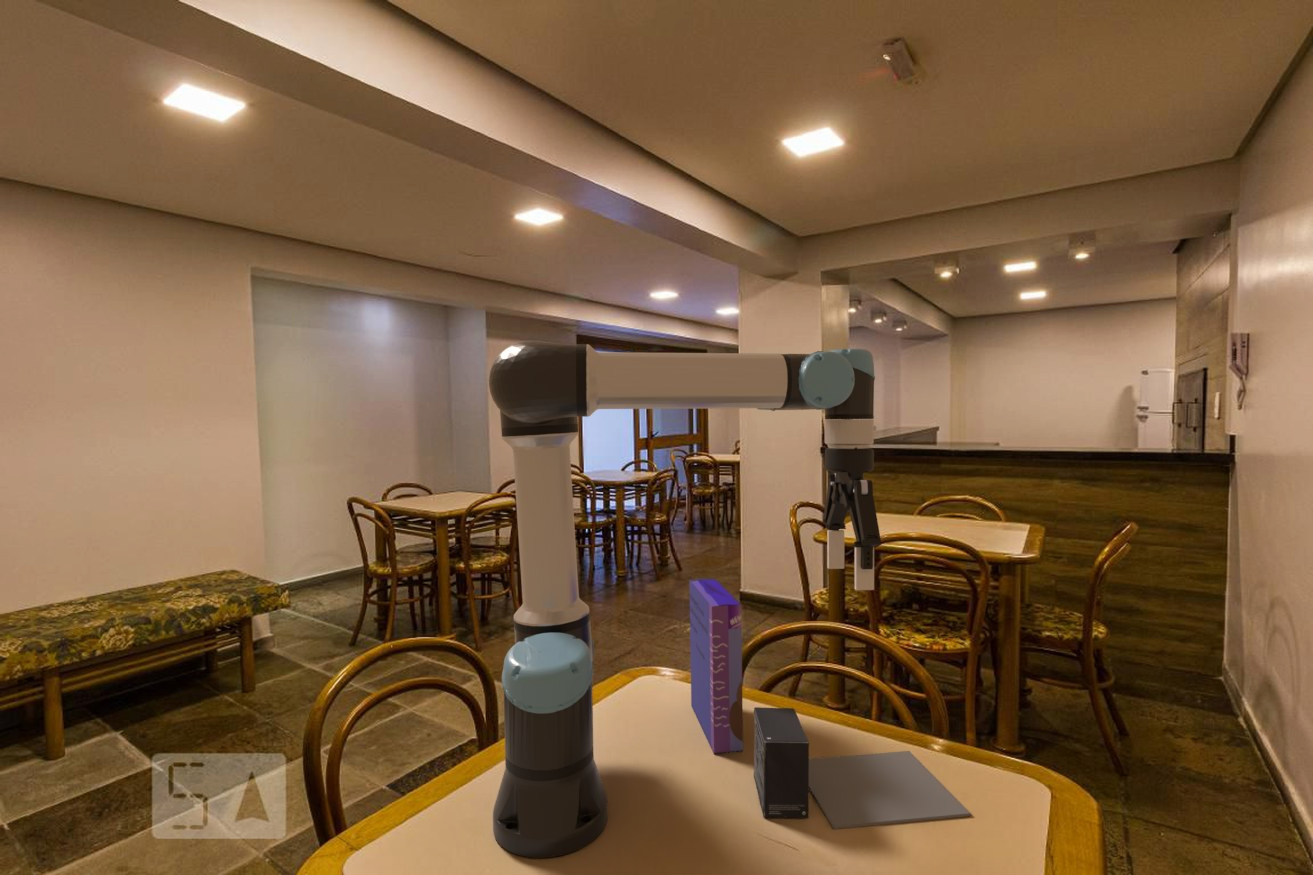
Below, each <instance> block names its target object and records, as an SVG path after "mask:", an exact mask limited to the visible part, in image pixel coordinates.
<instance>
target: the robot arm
mask: <svg viewBox="0 0 1313 875" xmlns="http://www.w3.org/2000/svg"><path fill="white" fill-rule="evenodd" d="M875 381H876V376H875V363H874V356H873V354H872V352H871V351H870V350H867V349H864V348H839V349H832V350H826V351H824V350H820V351H819V350H817V351H815V352H813V353H753V352H752V353H750V352H749V353H746V352H745V353H744V352H743V353H741V352H739V353H737V352H736V353H733V352H731V353H730V352H729V353H727V352H723V353H721V352H720V353H719V352H620V351H619V352H612V351H611V352H602V351H600V352H598V351H596V350H595V348H593V346H591V345H590V344H585V343H584V344H583V343H582V344H581V343H580V344H577V343H559V342H550V341H543V340H532V339H531V340H523V341H518V342H516V343H513V344H511V345H509V346H508V347H506V348H505V349H503V350H502V351H501V352H500V353H499V354H498V355H497V356H496V357H495V360H494V361H493V363H492V365H491V369H490V370H489V377H488V387H489V392H490V395H491V399H492V400H493V402H494V404H495V405H496V407H497V408H498V409H499V416H500V429H501V430H500V431H501V439H502V440H503V441H504V442H505V443H506V444H507V445H509V447H511V449H512V454H513V456H512V458H513V459H512V460H513V471H514V487H515V503H516V518H517V531H518V532H517V533H518V535H517V536H518V549H519V551H518V552H519V564H520V567H519V568H520V580H521V598H522V604H521V606H519V607H518V609H517V610H516V611H515V612H514V614H513V628H514V629H513V630H514V643H515V644H513V645H512V646H511V648H509V650H508V651H507V653H506V654H505V657H504V660H503V667H502V668H503V669H502V674H501V685H502V690H503V712H504V713H503V715H504V718H503V719H504V720H503V721H504V723H503V724H504V754H505V759H504V760H505V762H504V763H505V766H504V767H505V769H504V771H503V775H502V779H501V782H500V786H499V789H498V792H497V796H496V799H495V802H494V806H493V810H492V828H493V829H492V831H493V835H494V838H495V840H496V841H497V843H498V844H499V845H500V846H501V847H502V848H503V849H505V850H506V851H508V852H509V853H511V854H514V855H517V856H520V857H524V858H525V857H526V858H535V859H537V858H538V859H540V858H541V859H543V858H544V859H547V858H554V857H560V856H563V855H567V854H570V853H573V852H576V851H578V850H580V849H582V848H584V847H586V846H587V845H589V844H590V843H592V842H593V841H594V840H596V839H597V837H599V836H600V835H601V833H602V832H603V830H604V829H605V827H606V825H607V822H608V818H609V814H608V813H609V812H608V810H609V809H608V807H609V806H608V805H609V804H608V796H607V792H606V789H605V787H604V784H603V783H604V782H603V780H602V778H601V776H600V773H599V769H598V767H597V764H596V762H595V758H594V716H593V713H594V711H593V709H594V707H593V703H594V702H593V679H594V661H593V660H594V657H595V656H594V655H595V648H594V640H593V638H592V630H591V629H592V628H591V626H592V625H591V617H590V616H591V615H590V614H591V610H590V606H589V605H588V604H587V603H586V602H585V601H583V600H582V599H581V597H580V593H579V579H578V578H579V576H578V562H577V560H578V559H577V546H576V545H577V544H576V531H575V530H576V529H575V528H576V527H575V514H574V499H573V498H574V496H573V495H574V494H573V480H572V467H571V466H572V464H571V447H570V446H571V444H572V442H573V441H574V440H575V439H576V438H577V437H578V435H579V432H580V431H579V418H580V417H581V418H584V417H590V416H591V415H593V414H594V413H595V412H596V411H598V410H643V409H644V410H649V409H650V410H651V409H652V410H653V409H655V410H658V409H659V410H660V409H661V410H664V409H667V410H668V409H669V410H672V409H673V410H674V409H676V410H677V409H679V410H680V409H681V410H683V409H684V410H685V409H688V410H689V409H696V410H697V409H701V410H702V409H711V410H712V409H757V410H761V411H772V412H775V411H799V410H800V411H804V410H805V411H806V410H816V411H819V410H820V411H822V410H824V443H825V445H828V447H826V448H825V450H824V468H825V470H826V471H828V472H831V473H828V485H827V486H828V487H827V493H826V499H825V504H824V513H823V517H822V523H823V525H825V527H826V530H827V531H826V532H827V533H826V534H827V538H826V540H827V541H826V542H827V546H826V547H827V557H826V558H827V564H826V566H827V569H828V570H839V569H840V570H842V569H843V570H844V569H845V530H846V529H847V528H846V527H847V526H846V524H845V519H846V516H847V513H848V514H849V517H850V520H851V525H852V528H853V532H854V537H855V541H854V542H853V544H852V547H853V548H854V590H855V591H875V548H876V547H877V546H881V544H882V540H881V539H882V538H881V535H880V533H881V532H880V527H879V522H878V516H877V510H876V505H875V500H874V490H873V489H874V488H873V485H874V484H873V480H872V479H864V473H868V472H872V471H873V470H874V469H875V465H874V464H875V460H874V459H875V450H874V449H873V448H871V447H870V445H871V446H872V445H873V444H874V443H875V442H874V441H875V440H874V438H875V437H874V436H875V434H874V432H876V431H877V426H876V425H875V422H874V418H875V415H874V411H875V410H874V405H875V402H874V401H875V400H874V398H875V397H874V396H875Z"/></svg>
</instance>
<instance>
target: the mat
mask: <svg viewBox="0 0 1313 875" xmlns="http://www.w3.org/2000/svg"><path fill="white" fill-rule="evenodd" d="M809 791H810V793H811V796H813V798H814V800H815V801H816V803H817V805H818V806H819V808H820V809H821V812H822V813H823V814H824V816H825V818H826V819H827V821H828V822H829V824H830V827H831V828H832V829H833V830H839V829H849V828H858V827H869V826H870V827H871V826H879V825H880V826H881V825H889V824H893V825H894V824H901V823H902V824H903V823H912V822H913V823H914V822H923V821H933V820H944V819H956V818H966V817H972V815H971V812H970V811H969V810H968V809H967V808H966V806H964V804H962V803H961V802H960V801H959V800H958V798H956V797H955V796H954V795H953V793H952V792H950V790H949V789H948V788H946V787H945V785H943V783H942V782H940V780H938V778H937V777H936V776H935V775H934V774H933V773H932V772H930V770H929V769H928V768H927V767H926V766H925V765H924V764H923V763H922V762H921V761H920V760H919V758H917V757H916V756H915V755H914V754H913V753H912V752H911V750H904V751H892V752H879V753H878V752H877V753H864V754H854V755H844V756H843V755H842V756H829V757H819V758H818V757H816V758H809Z"/></svg>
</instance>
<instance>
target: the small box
mask: <svg viewBox="0 0 1313 875" xmlns="http://www.w3.org/2000/svg"><path fill="white" fill-rule="evenodd" d="M753 715H754V717H753V718H754V750H753V751H754V752H753V753H754V754H753V755H754V758H753V759H754V760H753V761H754V762H753V767H754V768H753V778H754V782H755V783H754V784H755V788H756V790H757V796H758V801H759V805H760V808H761V812H762V817H763V818H765V819H766V818H767V819H768V818H771V819H773V818H774V819H775V818H781V819H783V818H784V819H788V818H789V819H809V799H810V798H809V797H810V796H809V794H810V793H809V791H810V790H809V759H810V757H809V756H810V752H809V751H810V748H809V747H810V746H809V745H810V743H809V740H808V737H807V735H806V733H805V731H804V728H803V725H802V724H801V722H800V720H799V719H800V718H799V716H798V714H797V712H796V709H795V708H791V707H788V708H787V707H759V706H758V707H757V706H756V707H753Z"/></svg>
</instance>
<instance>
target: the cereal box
mask: <svg viewBox="0 0 1313 875" xmlns="http://www.w3.org/2000/svg"><path fill="white" fill-rule="evenodd" d="M688 581H689V585H688V586H689V631H690V632H689V640H690V641H689V642H690V646H689V647H690V648H689V649H690V695H691V696H690V699H691V700H690V701H691V702H690V705H691V709H692V710H693V712H694V715H695V717H696V719H697V721H698V723H699V725H700V728H701V730H702V732H703V734H704V736H705V739H706V741H707V743H708V744H709V747H710V750H712V753H713V755H724V754H733V753H742V752H744V724H743V720H744V719H743V718H744V717H743V716H744V714H743V655H742V654H743V652H742V650H743V646H742V645H743V644H742V642H743V640H742V634H743V633H742V604H741V603H740V602H739V600H737V599H736V598H735V596H733V595H732V594H731V592H729V591H728V590H727V589H726V588H725V587H724V586H723V585H722V584H721V583H720V582H719V581H718V580H717V579H716V578H715V577H696V578H690V579H688Z"/></svg>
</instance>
